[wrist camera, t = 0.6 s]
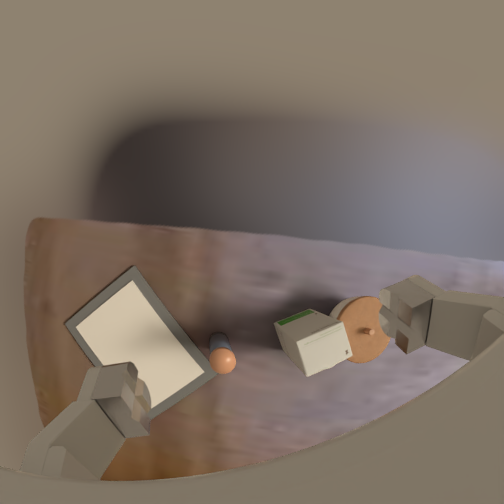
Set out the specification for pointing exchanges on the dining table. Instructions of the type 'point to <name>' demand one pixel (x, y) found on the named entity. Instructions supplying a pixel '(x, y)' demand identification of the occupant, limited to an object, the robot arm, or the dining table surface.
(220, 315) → the dining table surface
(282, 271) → the dining table surface
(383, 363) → the dining table surface
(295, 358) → the skincare box
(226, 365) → the marker
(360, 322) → the lidded bowl
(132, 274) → the mat
